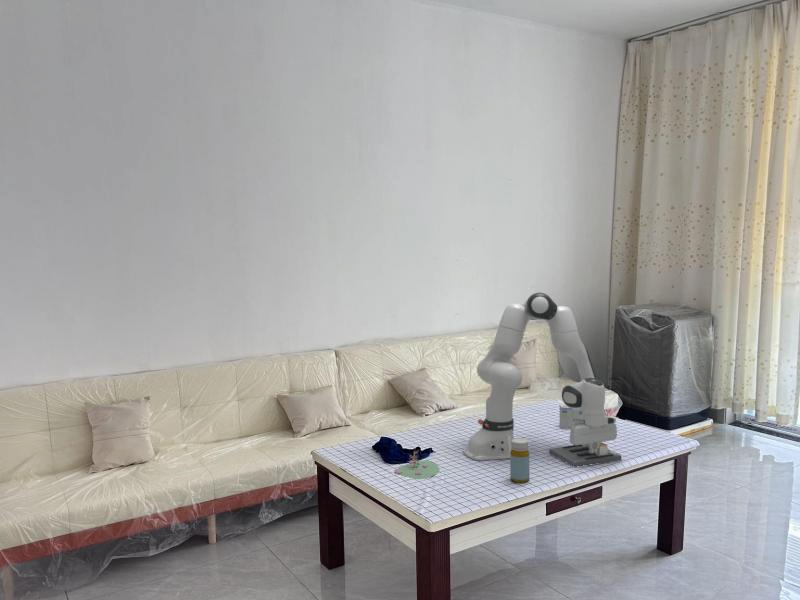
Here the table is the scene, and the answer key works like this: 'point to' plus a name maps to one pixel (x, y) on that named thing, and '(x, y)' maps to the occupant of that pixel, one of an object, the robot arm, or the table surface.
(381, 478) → the table surface
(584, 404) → the robot arm
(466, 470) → the table surface
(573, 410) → the light bulb box
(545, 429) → the table surface
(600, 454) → the switch
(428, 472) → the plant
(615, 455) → the switch panel
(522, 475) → the bottle
